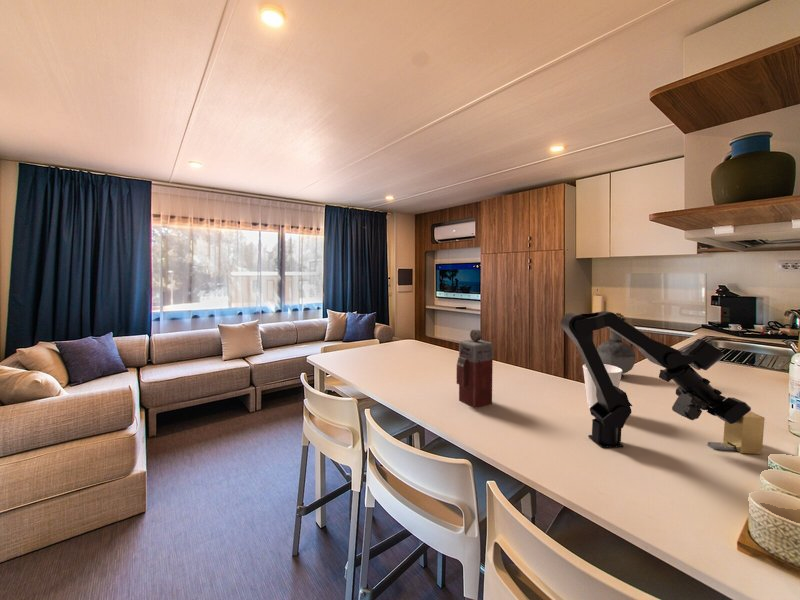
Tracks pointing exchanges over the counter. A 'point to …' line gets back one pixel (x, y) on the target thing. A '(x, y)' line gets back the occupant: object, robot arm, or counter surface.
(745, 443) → the tan rectangular block
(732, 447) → the rig
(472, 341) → the dark red tall piece
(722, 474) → the counter surface
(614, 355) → the pitcher
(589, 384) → the cup
